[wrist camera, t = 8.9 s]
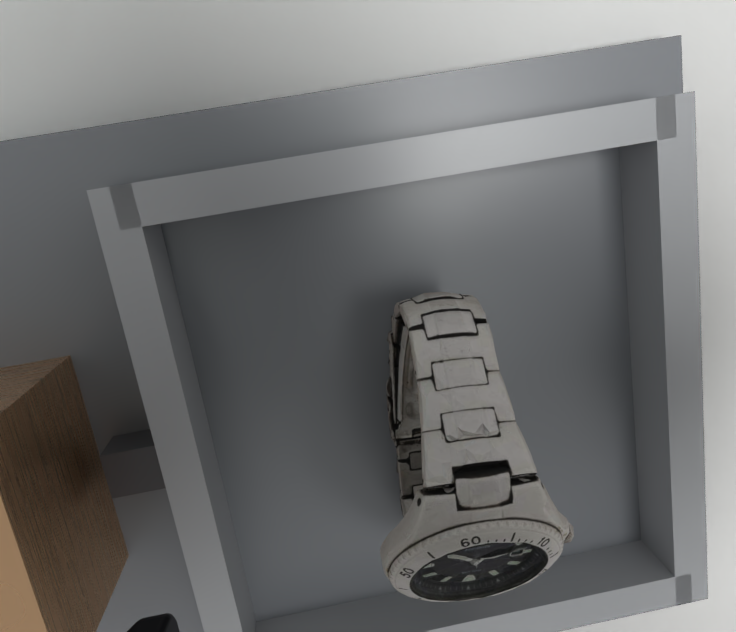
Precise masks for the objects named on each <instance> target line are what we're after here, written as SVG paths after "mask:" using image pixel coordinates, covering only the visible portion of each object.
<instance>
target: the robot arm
mask: <svg viewBox="0 0 736 632" xmlns="http://www.w3.org/2000/svg"><path fill="white" fill-rule="evenodd" d="M127 632H180V631H179V627H178V624H177V621H176V619H175V617H174V616H173V615H172V614H170V613H165V614H160V615H155V616H150V617H145V618H142V619H140V620H138V621H137V622H136V623H135V624H134V625H133V626H132V627H131V628H130V629H129V630H128V631H127Z"/></svg>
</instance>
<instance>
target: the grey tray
mask: <svg viewBox="0 0 736 632" xmlns="http://www.w3.org/2000/svg"><path fill="white" fill-rule="evenodd" d="M430 292H448V293H456V294H466V295H473V296H474V297H475V298H477V299H478V301H479V303H480V305H481V306H482V308H483V310H484V312H485V314H486V320H487V323H489V326H490V329H491V332H492V336H493V341H494V347H495V352H496V357H497V361H498V365H499V370H500V373H501V376H502V378H503V380H504V383H505V386H506V389H507V392H508V395H509V398H510V401H511V404H512V407H513V411H514V414H515V421H516V423H517V425H518V427H519V429H520V431H521V433H522V435H523V437H524V439H525V442H526V444H527V446H528V448H529V450H530V453H531V456H532V459H533V462H534V464H535V466H536V469H537V474H536V475H537V476H538V477H539V478H540V480H541V482H542V484H543V485H544V486H545V488H546V490H547V492H548V494H549V496H550V498H551V500H552V502H553V503H554V505H555V506H556V508H557V510H558V511H559V512H560V513H561V514H562V515H564V516H565V517H566V518H567V520H568V522H569V523H570V524H571V525H572V526H573V531H574V537H573V539H572V541H571V542H569V543H564V545H563V551H562V553H561V555H560V556H559V558H558V559H557V560H556V561H555V562H554V563H553V564H552V565H551V567H550V568H549V569H548V570H546V571H545V572H544V573H542V574H541V575H539V576H538V577H536V578H534V579H533V580H532V581H530V582H529V583H527V584H524V585H521V586H519V587H517V588H515V589H513V590H510V591H507V592H504V593H501V594H499V595H494V596H490V597H485V598H480V599H475V600H468V601H454V602H431V601H425V600H420V599H415V598H411V597H408V596H406V595H404V594H402V593H400V592H399V591H397V590H396V589H395V588H394V587H393V586H392V584H391V582H390V580H389V579H388V578H387V577H386V575H385V574H384V571H383V566H382V560H381V555H380V549H381V545H382V543H383V541H384V540H385V538H386V537H387V536H388V534H389V533H390V532H391V531H392V530H393V529H394V528H395V527H396V526H397V525H398V524H399V522H400V521H401V520H402V519H403V514H402V509H401V503H400V486H399V474H398V473H397V452H396V447H395V444H394V440H392V439H391V436H390V429H389V419H388V408H387V396H386V394H387V391H386V382H387V380H388V378H389V376H390V366H389V363H388V360H389V343H388V341H387V337H388V332H389V331H391V330H392V324H391V316H393V314H394V307H395V305H396V303H397V302H400V301H403V300H406V299H410V298H414V297H416V296H418V295H420V294H423V293H430ZM704 599H708V581H707V543H706V504H705V466H704V427H703V389H702V350H701V312H700V273H699V235H698V196H697V158H696V119H695V91H693V92H687V93H683V80H682V47H681V35H679V36H672V37H666V38H659V39H653V40H647V41H640V42H634V43H627V44H621V45H615V46H608V47H602V48H595V49H589V50H583V51H576V52H570V53H563V54H557V55H551V56H544V57H538V58H532V59H525V60H519V61H512V62H506V63H500V64H493V65H487V66H480V67H474V68H468V69H461V70H455V71H448V72H442V73H436V74H429V75H423V76H416V77H410V78H404V79H397V80H391V81H384V82H378V83H372V84H365V85H359V86H352V87H346V88H340V89H333V90H327V91H320V92H314V93H308V94H301V95H295V96H288V97H282V98H276V99H269V100H263V101H256V102H250V103H244V104H237V105H231V106H224V107H218V108H212V109H205V110H199V111H192V112H186V113H180V114H173V115H167V116H160V117H154V118H148V119H141V120H135V121H128V122H122V123H116V124H109V125H103V126H96V127H90V128H84V129H77V130H71V131H64V132H58V133H52V134H45V135H39V136H32V137H26V138H20V139H13V140H7V141H0V632H127V631H128V630H129V629H130V628H131V627H132V626H133V625H134V624H135V623H136V622H137V621H138V620H140V619H142V618H145V617H150V616H155V615H160V614H165V613H170V614H172V615H173V616H174V617H175V619H176V621H177V624H178V627H179V631H180V632H559V631H563V630H568V629H572V628H577V627H582V626H586V625H591V624H595V623H600V622H604V621H609V620H613V619H618V618H622V617H627V616H631V615H636V614H640V613H645V612H649V611H654V610H659V609H663V608H668V607H672V606H677V605H681V604H686V603H690V602H695V601H699V600H704Z"/></svg>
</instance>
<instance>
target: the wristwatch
mask: <svg viewBox="0 0 736 632" xmlns="http://www.w3.org/2000/svg"><path fill="white" fill-rule="evenodd" d="M391 324H392V330H391V331H389V332H388V337H387V341H388V343H389V360H388V363H389V366H390V376H389V378H388V380H387V382H386V391H387V394H386V396H387V408H388V419H389V429H390V436H391V439H392V440H394V444H395V447H396V452H397V473H398V474H399V486H400V503H401V509H402V514H403V519H402V520H401V521H400V522H399V524H398V525H397V526H396V527H395V528H394V529H393V530H392V531H391V532H390V533H389V534H388V536H387V537H386V538H385V540H384V541H383V543H382V545H381V549H380V555H381V560H382V566H383V571H384V574H385V575H386V577H387V578H388V579H389V580H390V582H391V584H392V586H393V587H394V588H395V589H396V590H397V591H399V592H400V593H402V594H404V595H406V596H408V597H411V598H415V599H420V600H425V601H431V602H454V601H468V600H475V599H480V598H485V597H490V596H494V595H499V594H501V593H504V592H507V591H510V590H513V589H515V588H517V587H519V586H521V585H524V584H527V583H529V582H530V581H532V580H533V579H534V578H536V577H538V576H539V575H541V574H542V573H544V572H545V571H546V570H548V569H549V568H550V567H551V565H552V564H553V563H554V562H555V561H556V560H557V559H558V558H559V556H560V555H561V553H562V551H563V545H564V543H569V542H571V541H572V539H573V537H574V531H573V526H572V525H571V524H570V523H569V522H568V520H567V518H566V517H565V516H564V515H562V514H561V513H560V512H559V511H558V510H557V508H556V506H555V505H554V503H553V502H552V500H551V498H550V496H549V494H548V492H547V490H546V488H545V486H544V485H543V484H542V482H541V480H540V478H539V477H538V476H537V475H536V474H537V469H536V466H535V464H534V462H533V459H532V456H531V453H530V450H529V448H528V446H527V444H526V442H525V439H524V437H523V435H522V433H521V431H520V429H519V427H518V425H517V423H516V421H515V414H514V411H513V407H512V404H511V401H510V398H509V395H508V392H507V389H506V386H505V383H504V380H503V378H502V376H501V373H500V370H499V365H498V361H497V357H496V352H495V347H494V341H493V336H492V332H491V329H490V326H489V323H487V320H486V314H485V312H484V310H483V308H482V306H481V305H480V303H479V301H478V299H477V298H475V297H474V296H473V295H466V294H456V293H448V292H430V293H423V294H420V295H418V296H416V297H414V298H410V299H406V300H403V301H400V302H397V303H396V305H395V307H394V314H393V316H391Z"/></svg>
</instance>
